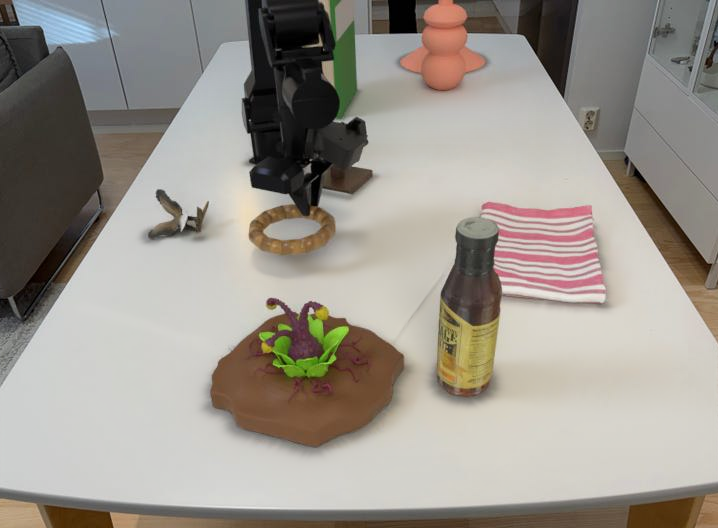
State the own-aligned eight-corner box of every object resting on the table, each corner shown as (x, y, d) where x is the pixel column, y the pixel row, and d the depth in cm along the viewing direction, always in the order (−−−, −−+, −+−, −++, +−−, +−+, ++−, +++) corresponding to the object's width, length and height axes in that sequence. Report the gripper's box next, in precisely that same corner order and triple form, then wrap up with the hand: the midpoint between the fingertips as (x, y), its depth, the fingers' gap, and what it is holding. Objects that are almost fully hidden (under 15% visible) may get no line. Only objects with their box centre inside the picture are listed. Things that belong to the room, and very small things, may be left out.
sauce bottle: (431, 366, 80) (437, 210, 67) (485, 361, 80) (500, 205, 68) (441, 404, 75) (449, 243, 62) (497, 399, 75) (517, 238, 63)
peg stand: (302, 188, 118) (298, 141, 113) (327, 168, 124) (324, 123, 119) (349, 197, 115) (346, 149, 110) (372, 176, 121) (371, 130, 116)
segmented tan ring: (233, 247, 94) (230, 234, 93) (279, 208, 102) (277, 196, 101) (308, 265, 90) (307, 252, 89) (350, 223, 98) (350, 210, 97)
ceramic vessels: (402, 49, 181) (402, -32, 169) (483, 49, 180) (488, -33, 168) (395, 94, 154) (394, 1, 142) (490, 93, 153) (497, 0, 141)
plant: (331, 471, 68) (322, 385, 61) (185, 403, 76) (163, 321, 69) (427, 360, 81) (429, 279, 74) (293, 313, 89) (284, 236, 82)
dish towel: (591, 222, 105) (595, 201, 103) (605, 309, 88) (610, 286, 86) (478, 216, 108) (480, 196, 106) (470, 299, 90) (472, 277, 88)
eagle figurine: (215, 214, 109) (161, 200, 110) (205, 190, 102) (147, 176, 103) (199, 256, 107) (144, 242, 107) (188, 236, 100) (129, 221, 101)
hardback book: (341, 118, 143) (333, -10, 128) (306, 117, 145) (295, -10, 130) (357, 90, 157) (352, -29, 142) (325, 90, 158) (317, -29, 143)
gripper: (318, 136, 80) (327, 254, 90) (386, 87, 93) (388, 195, 102) (239, 123, 84) (256, 237, 94) (315, 78, 97) (323, 182, 106)
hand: (310, 212), depth 99 cm, fingers closed on segmented tan ring, 2 cm apart
